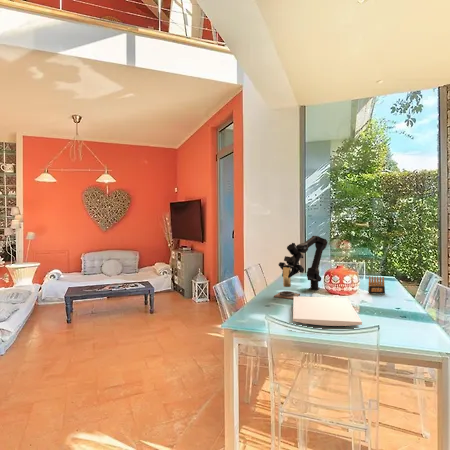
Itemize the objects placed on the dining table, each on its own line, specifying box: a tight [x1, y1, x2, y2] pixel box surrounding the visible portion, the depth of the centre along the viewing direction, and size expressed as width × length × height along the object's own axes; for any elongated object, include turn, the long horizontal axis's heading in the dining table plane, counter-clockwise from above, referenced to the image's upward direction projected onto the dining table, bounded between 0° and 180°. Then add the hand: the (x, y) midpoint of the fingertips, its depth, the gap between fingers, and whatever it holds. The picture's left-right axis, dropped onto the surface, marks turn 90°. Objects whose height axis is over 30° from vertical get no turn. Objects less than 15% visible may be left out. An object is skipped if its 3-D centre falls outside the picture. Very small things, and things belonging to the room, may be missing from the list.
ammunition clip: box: [367, 275, 386, 294], centre depth 227 cm, size 11×2×12 cm, turn 82°
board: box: [292, 295, 363, 327], centre depth 180 cm, size 45×32×5 cm
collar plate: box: [273, 290, 301, 301], centre depth 224 cm, size 14×14×2 cm
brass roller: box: [282, 267, 292, 288], centre depth 223 cm, size 5×5×13 cm
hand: (285, 276), depth 222 cm, fingers closed on brass roller, 5 cm apart
